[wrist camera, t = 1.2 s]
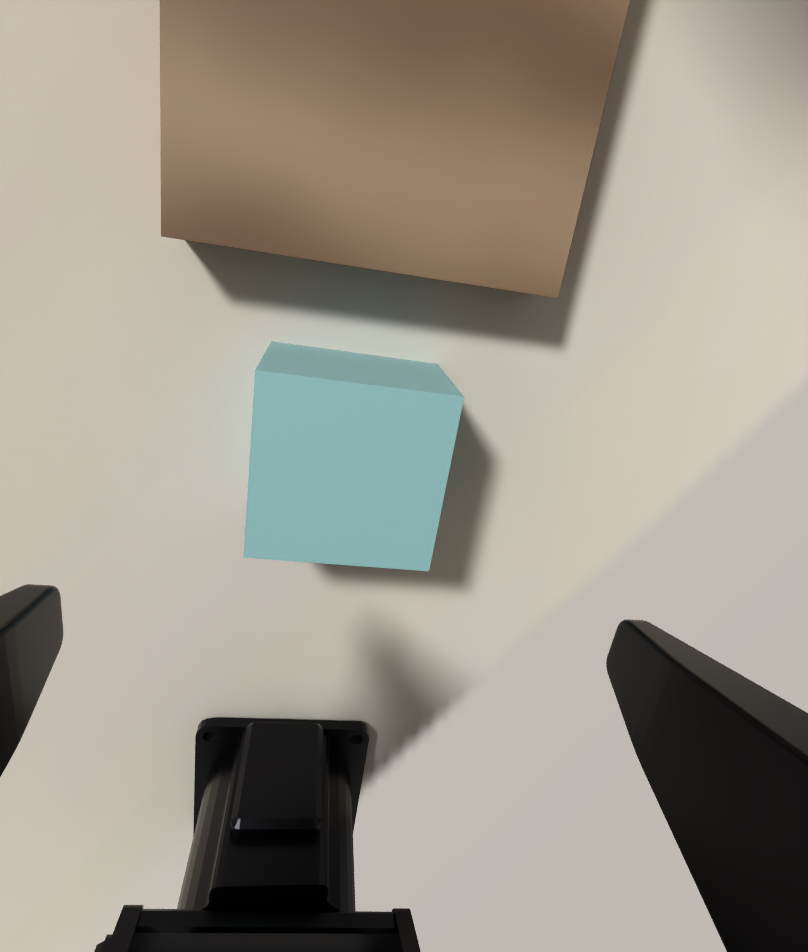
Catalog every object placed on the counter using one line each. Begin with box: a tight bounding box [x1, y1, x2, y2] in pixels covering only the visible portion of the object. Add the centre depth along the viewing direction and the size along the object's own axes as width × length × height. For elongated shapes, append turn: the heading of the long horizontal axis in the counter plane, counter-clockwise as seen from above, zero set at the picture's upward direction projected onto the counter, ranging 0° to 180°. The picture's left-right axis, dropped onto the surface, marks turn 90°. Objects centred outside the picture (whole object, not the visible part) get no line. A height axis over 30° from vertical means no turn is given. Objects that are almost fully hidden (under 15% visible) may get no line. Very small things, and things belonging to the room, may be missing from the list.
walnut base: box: [160, 0, 630, 298], centre depth 13 cm, size 10×10×2 cm
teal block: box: [244, 341, 464, 571], centre depth 16 cm, size 5×5×4 cm
